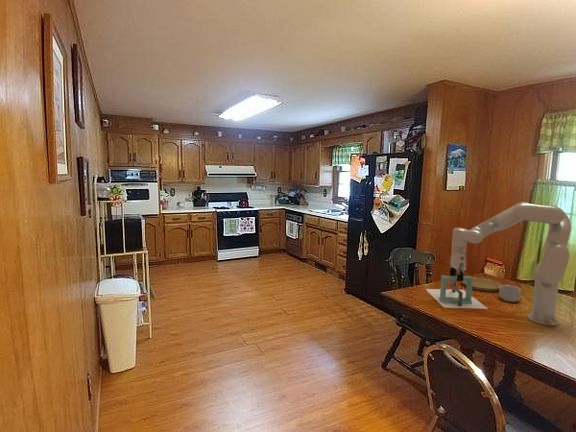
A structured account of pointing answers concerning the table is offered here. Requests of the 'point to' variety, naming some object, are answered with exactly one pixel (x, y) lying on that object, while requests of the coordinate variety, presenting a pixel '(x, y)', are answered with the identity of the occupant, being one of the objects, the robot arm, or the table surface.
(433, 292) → the base board
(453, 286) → the dark hinged linkage
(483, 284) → the plant saucer
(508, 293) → the teacup
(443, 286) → the teal rectangular frame
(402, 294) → the table surface
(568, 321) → the table surface
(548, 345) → the table surface
